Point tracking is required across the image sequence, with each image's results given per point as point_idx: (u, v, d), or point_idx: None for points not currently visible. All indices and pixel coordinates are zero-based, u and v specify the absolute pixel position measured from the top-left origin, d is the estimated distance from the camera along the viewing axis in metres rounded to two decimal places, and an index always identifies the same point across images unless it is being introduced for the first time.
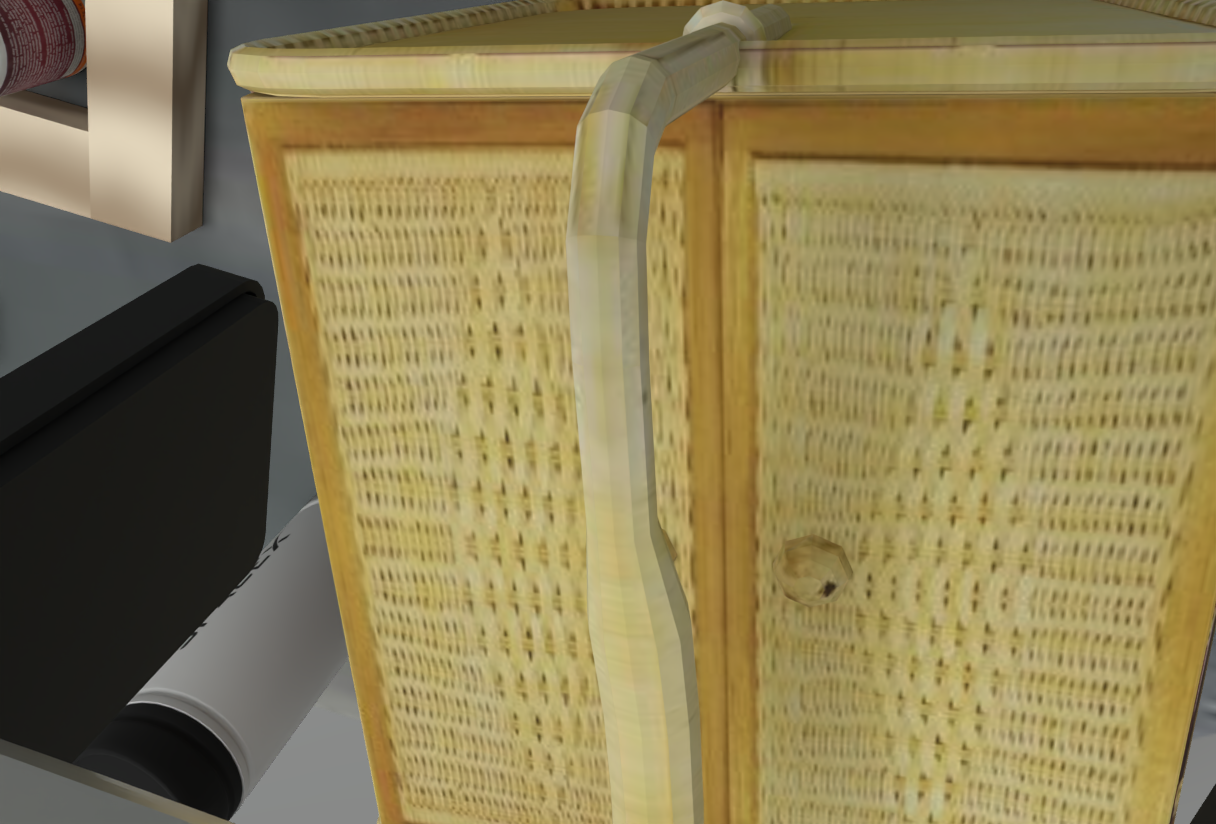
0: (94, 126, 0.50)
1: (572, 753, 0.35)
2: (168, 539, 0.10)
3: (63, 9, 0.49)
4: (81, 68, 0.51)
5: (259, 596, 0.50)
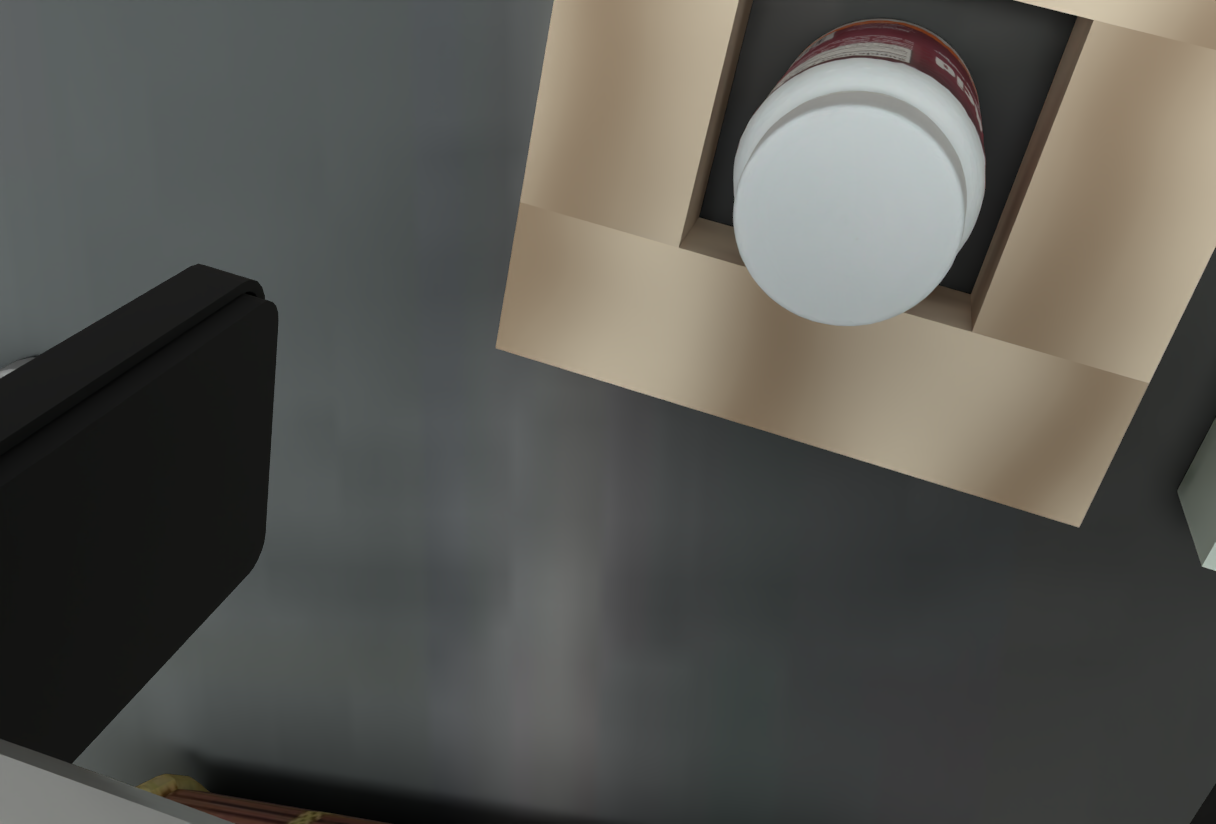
0: (688, 263, 0.28)
1: None
2: (168, 539, 0.10)
3: None
4: None
5: None
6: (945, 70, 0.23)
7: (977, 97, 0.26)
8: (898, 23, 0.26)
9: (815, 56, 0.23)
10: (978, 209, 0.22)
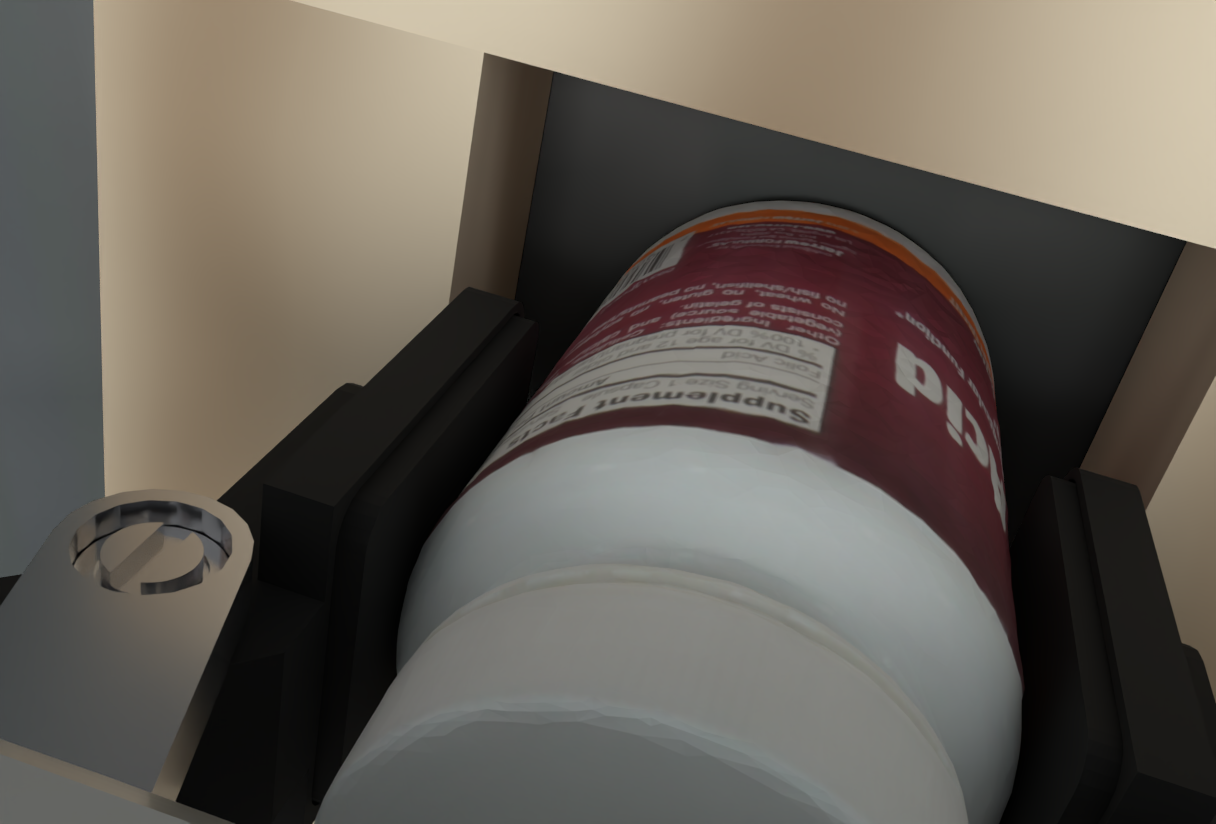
0: None
1: None
2: None
3: None
4: None
5: None
6: (918, 395, 0.09)
7: (990, 372, 0.12)
8: (823, 221, 0.12)
9: (608, 353, 0.10)
10: (1004, 808, 0.08)
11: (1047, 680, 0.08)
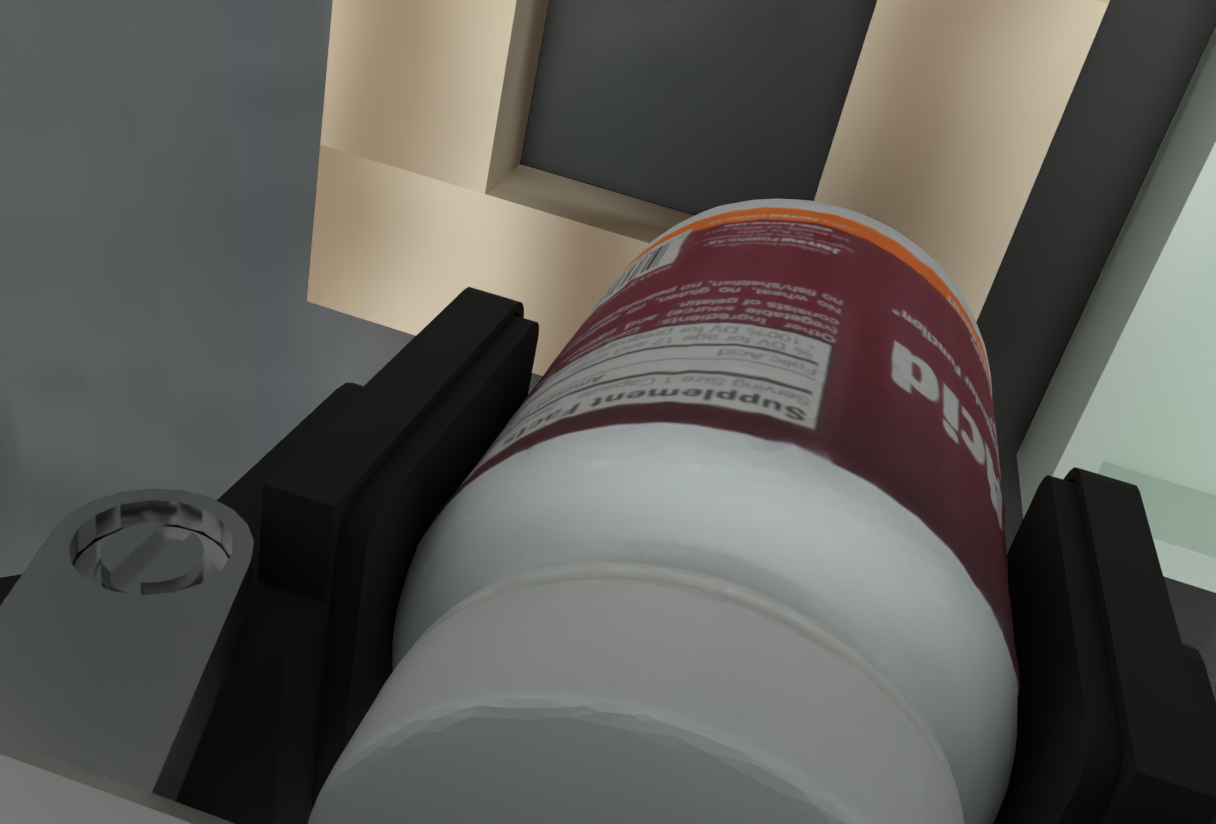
0: (496, 210, 0.26)
1: None
2: None
3: None
4: None
5: None
6: (914, 393, 0.09)
7: (987, 370, 0.12)
8: (819, 219, 0.12)
9: (604, 350, 0.10)
10: (999, 806, 0.08)
11: (1047, 680, 0.08)
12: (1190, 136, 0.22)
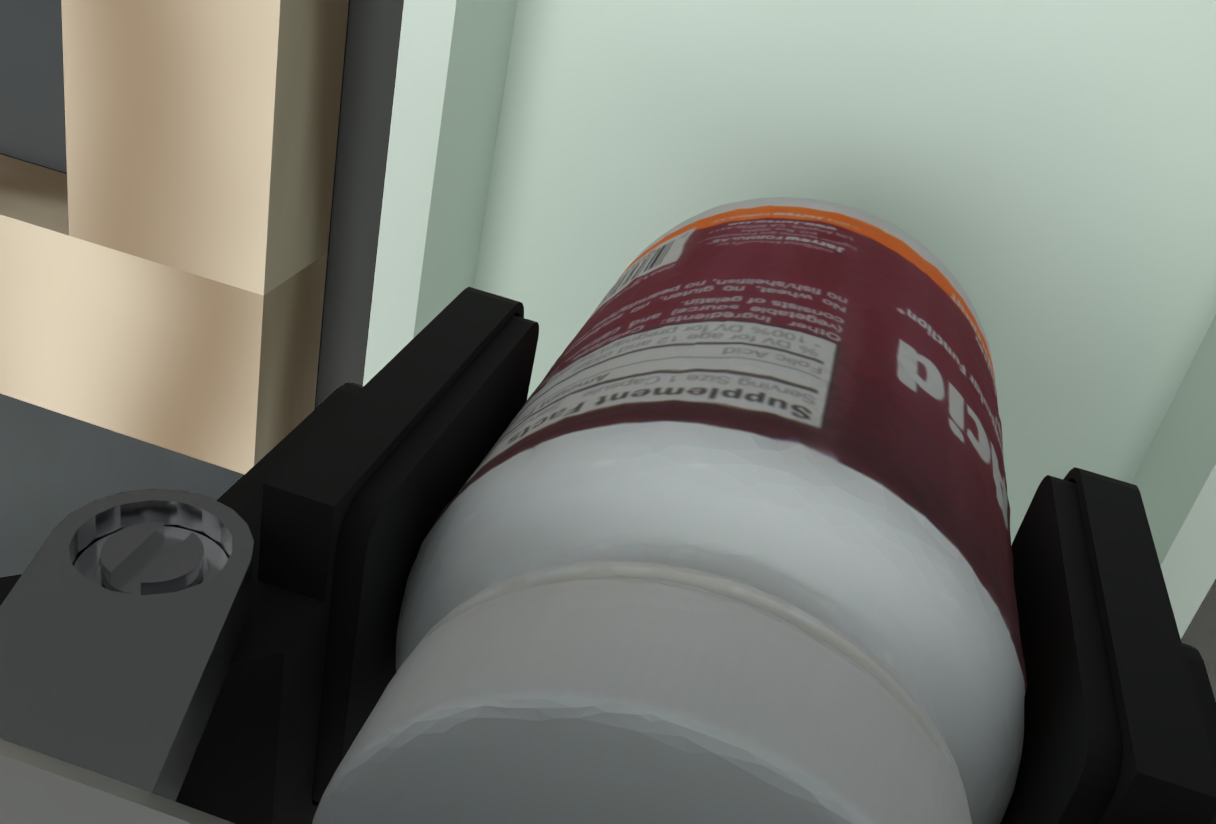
0: None
1: None
2: None
3: None
4: None
5: None
6: (920, 391, 0.09)
7: (991, 369, 0.12)
8: (824, 217, 0.12)
9: (608, 349, 0.10)
10: (1006, 806, 0.08)
11: (1047, 680, 0.08)
12: None
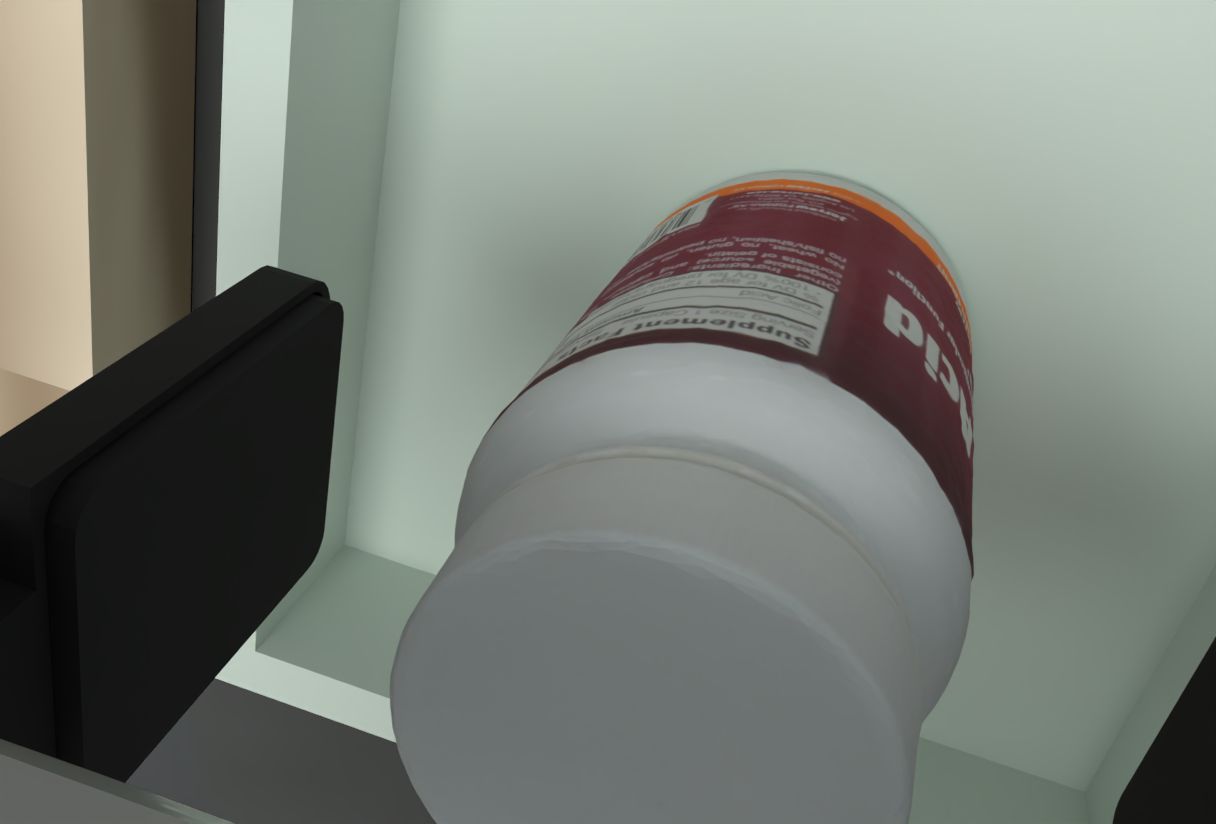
0: None
1: None
2: (241, 534, 0.10)
3: None
4: None
5: None
6: (902, 337, 0.11)
7: (969, 332, 0.14)
8: (830, 191, 0.14)
9: (642, 289, 0.11)
10: (951, 672, 0.10)
11: None
12: None
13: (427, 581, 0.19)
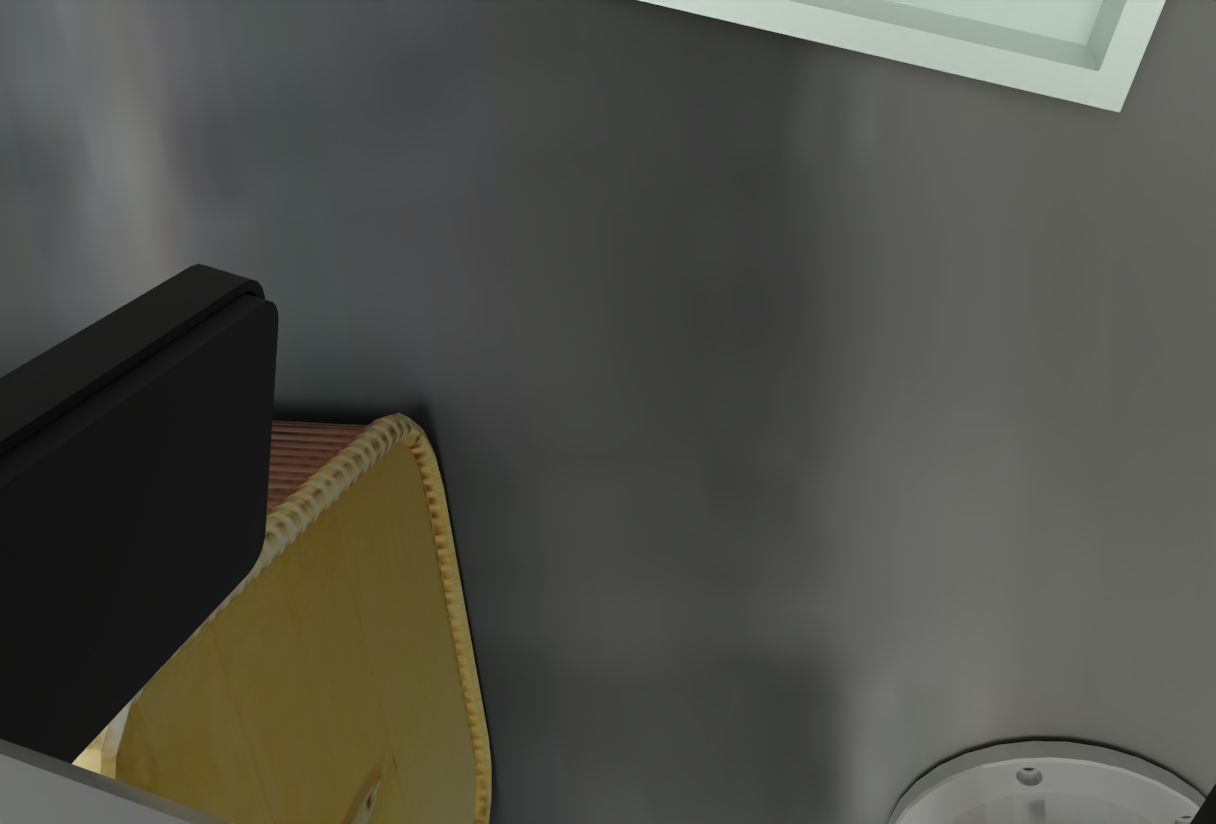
0: None
1: None
2: (168, 538, 0.10)
3: None
4: None
5: None
6: None
7: None
8: None
9: None
10: None
11: None
12: None
13: None
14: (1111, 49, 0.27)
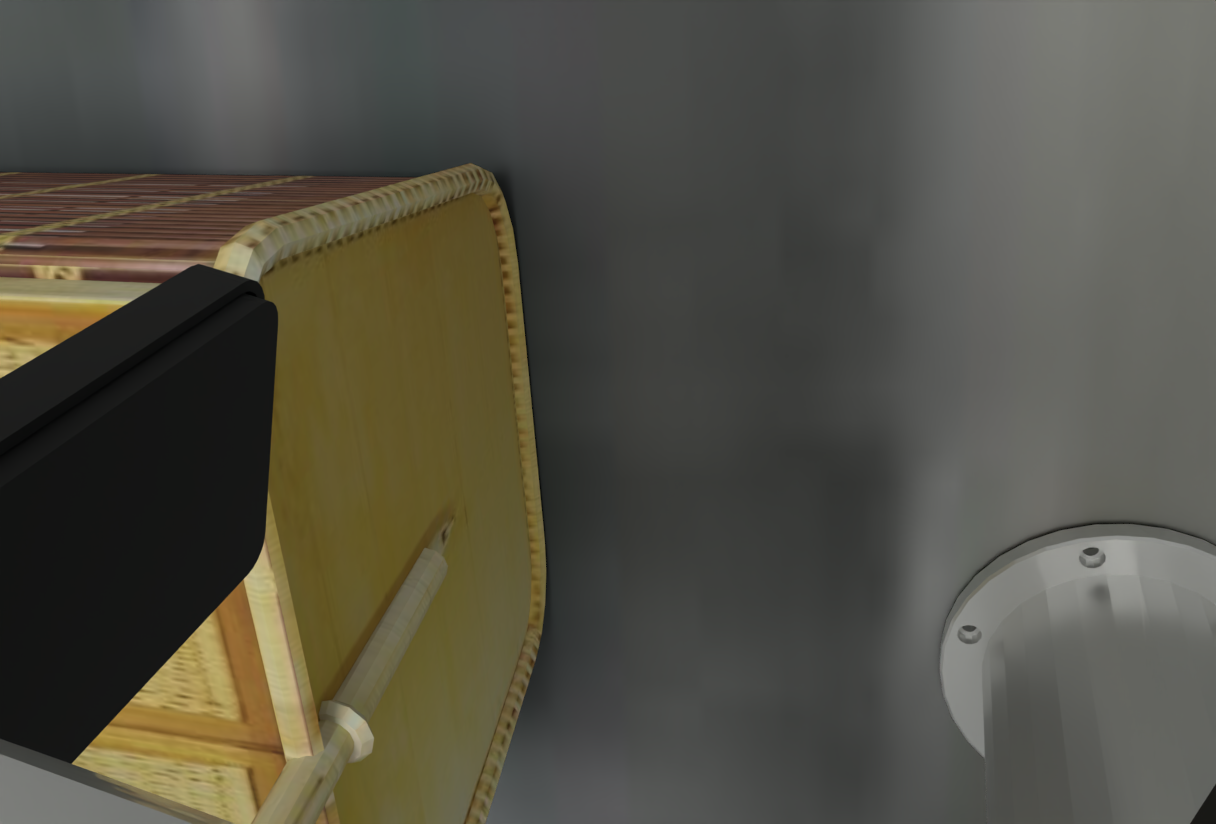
0: None
1: None
2: (168, 539, 0.10)
3: None
4: None
5: None
6: None
7: None
8: None
9: None
10: None
11: None
12: None
13: None
14: None
